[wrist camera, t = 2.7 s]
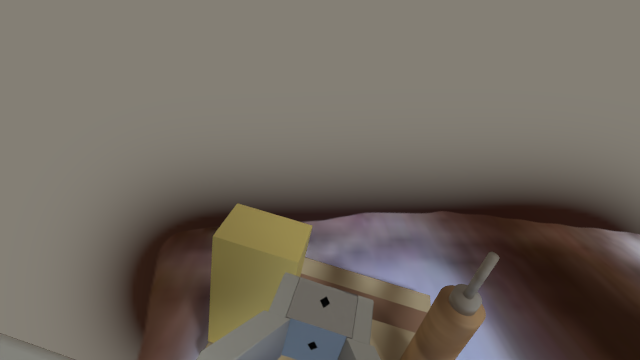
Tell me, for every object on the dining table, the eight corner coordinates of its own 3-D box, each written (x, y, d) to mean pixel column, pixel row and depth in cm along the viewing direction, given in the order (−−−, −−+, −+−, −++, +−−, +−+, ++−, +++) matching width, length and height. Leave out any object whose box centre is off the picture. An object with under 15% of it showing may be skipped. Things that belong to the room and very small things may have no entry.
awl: (428, 359, 32) (507, 242, 24) (437, 398, 29) (530, 280, 21) (393, 354, 32) (461, 233, 24) (399, 393, 29) (478, 271, 21)
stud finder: (275, 363, 29) (298, 262, 23) (208, 341, 29) (212, 236, 23) (289, 321, 32) (312, 224, 26) (229, 302, 33) (238, 202, 27)
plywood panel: (426, 302, 40) (429, 295, 39) (434, 440, 28) (440, 433, 27) (260, 251, 41) (261, 244, 40) (202, 361, 29) (202, 353, 29)
